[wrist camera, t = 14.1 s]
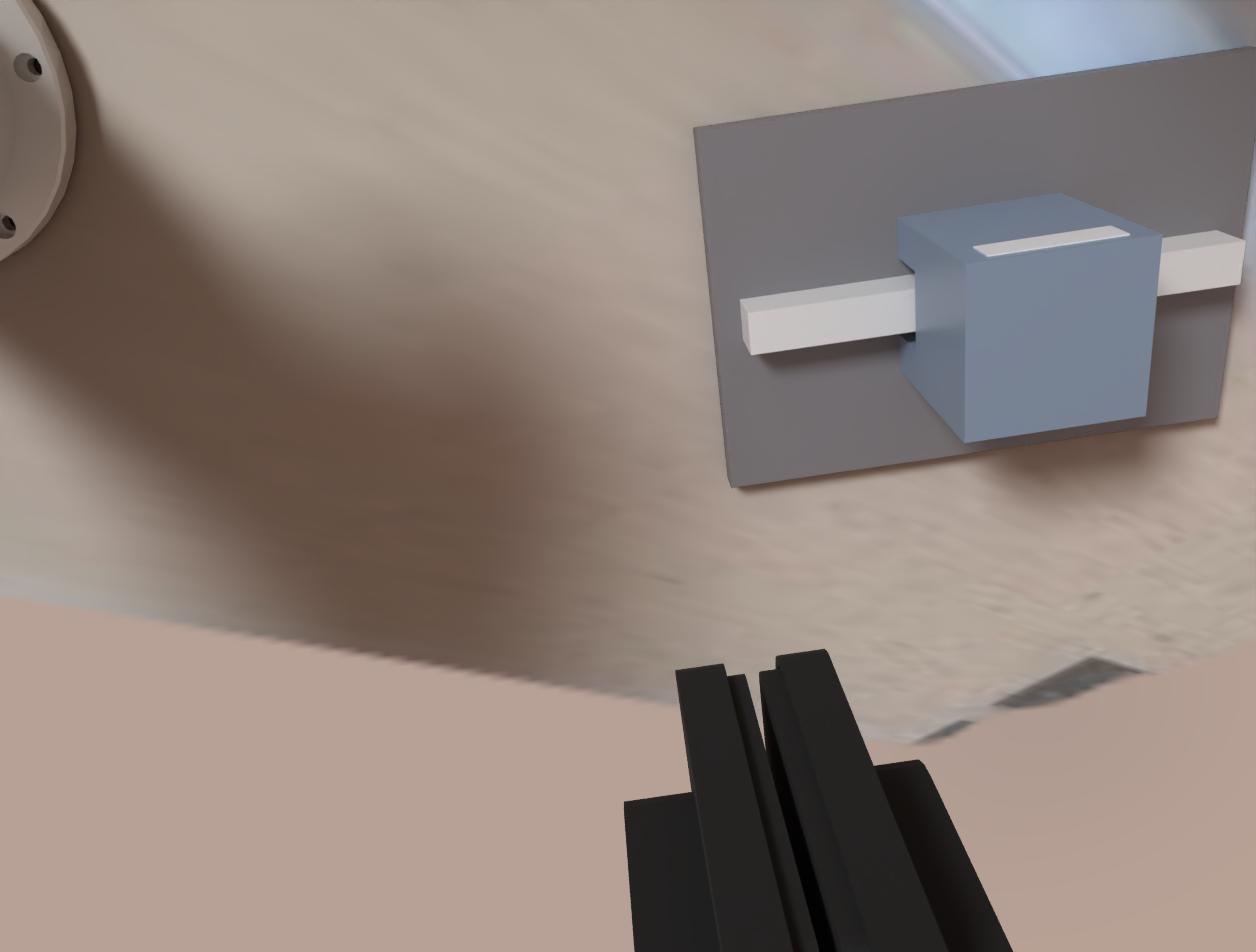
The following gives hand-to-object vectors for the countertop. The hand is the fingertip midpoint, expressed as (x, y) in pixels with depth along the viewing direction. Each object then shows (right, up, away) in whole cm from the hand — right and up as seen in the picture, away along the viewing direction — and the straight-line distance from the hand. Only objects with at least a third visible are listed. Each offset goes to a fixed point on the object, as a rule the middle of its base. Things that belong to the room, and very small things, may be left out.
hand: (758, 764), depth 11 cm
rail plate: (+12, +11, +28) cm, 32 cm away
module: (+12, +10, +27) cm, 31 cm away
